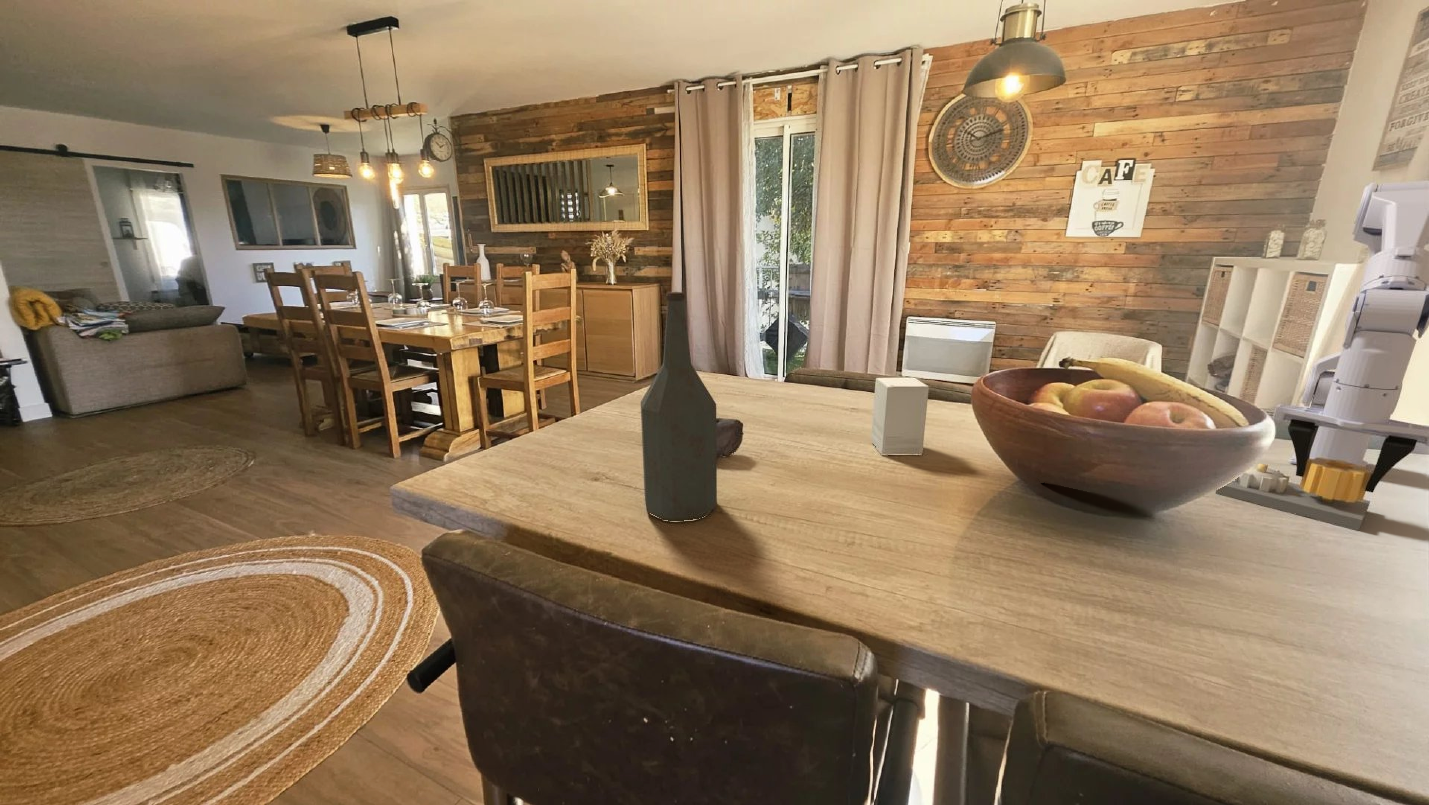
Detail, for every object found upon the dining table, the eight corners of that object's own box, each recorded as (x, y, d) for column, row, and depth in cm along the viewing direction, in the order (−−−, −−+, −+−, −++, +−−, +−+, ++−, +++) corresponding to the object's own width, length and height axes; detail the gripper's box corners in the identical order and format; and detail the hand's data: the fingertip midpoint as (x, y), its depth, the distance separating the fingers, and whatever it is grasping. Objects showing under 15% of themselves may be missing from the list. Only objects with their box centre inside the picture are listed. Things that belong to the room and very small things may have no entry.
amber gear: (1303, 480, 78) (1311, 454, 77) (1365, 494, 74) (1374, 467, 73) (1295, 491, 75) (1304, 463, 74) (1359, 506, 71) (1369, 477, 69)
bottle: (630, 507, 77) (619, 292, 69) (680, 486, 84) (675, 287, 76) (680, 532, 71) (674, 296, 63) (730, 506, 78) (731, 291, 69)
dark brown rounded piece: (655, 457, 96) (653, 420, 94) (664, 447, 101) (662, 411, 99) (739, 464, 93) (739, 425, 91) (744, 453, 98) (744, 416, 96)
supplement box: (923, 456, 96) (930, 386, 92) (880, 456, 96) (886, 386, 93) (909, 442, 103) (915, 376, 100) (869, 442, 103) (874, 376, 100)
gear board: (1231, 478, 86) (1239, 448, 85) (1366, 511, 75) (1378, 477, 74) (1215, 493, 81) (1223, 461, 79) (1358, 530, 70) (1370, 494, 69)
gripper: (1280, 378, 74) (1253, 472, 77) (1457, 401, 62) (1416, 509, 66) (1290, 371, 78) (1265, 460, 81) (1458, 391, 67) (1420, 494, 70)
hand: (1333, 482), depth 74 cm, fingers closed on amber gear, 6 cm apart
